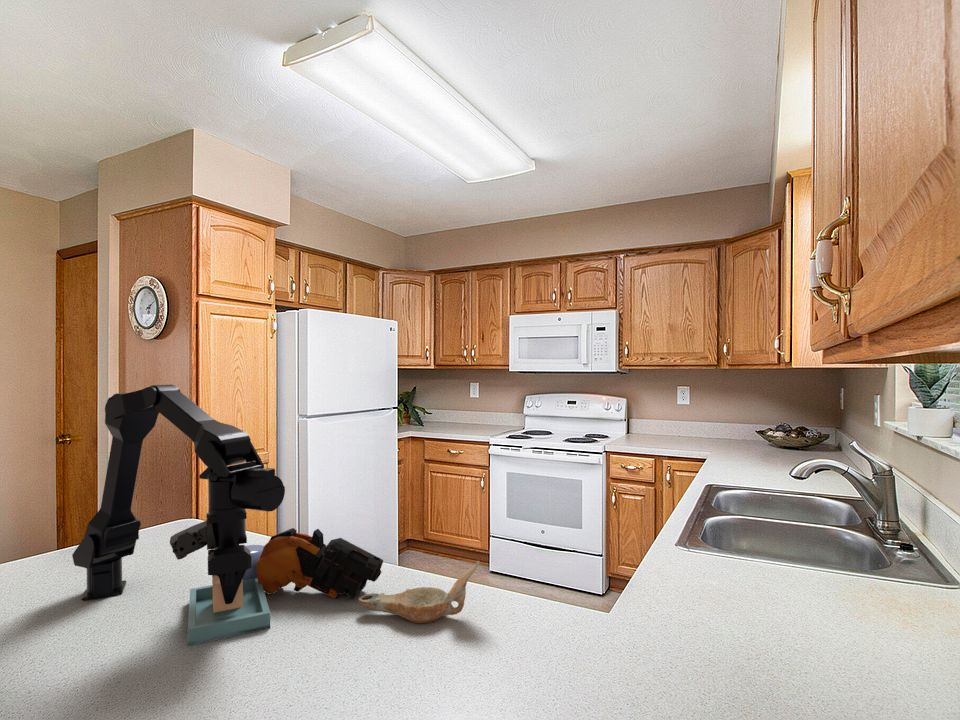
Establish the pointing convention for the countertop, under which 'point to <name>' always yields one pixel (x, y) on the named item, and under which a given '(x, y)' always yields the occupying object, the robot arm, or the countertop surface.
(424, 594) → the oil lamp
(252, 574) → the mug
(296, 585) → the tool
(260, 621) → the tray
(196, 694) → the countertop surface
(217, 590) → the block terracotta
